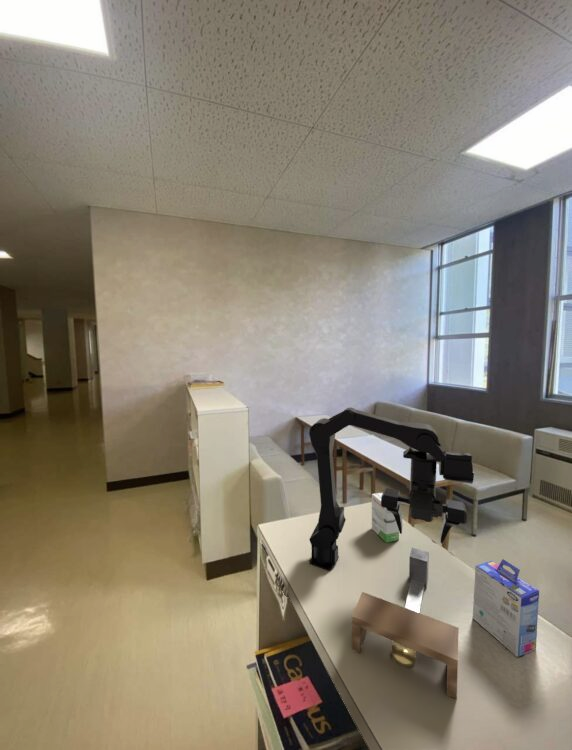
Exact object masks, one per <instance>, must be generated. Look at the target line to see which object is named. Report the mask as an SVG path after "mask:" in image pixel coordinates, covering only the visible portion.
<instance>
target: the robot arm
mask: <svg viewBox="0 0 572 750" xmlns="http://www.w3.org/2000/svg"><path fill="white" fill-rule="evenodd" d="M348 426H353V427H355V428H359V429H362V430H366V431H368V432H373V433H377V434H379V435H383V436H387V437H390V438H393V439H395V440H398V441H399V442H401V443H403V444H404V445H406V446H408V448H407V449H405V450H404V451H403V452H402V453H403V454H402V456H403V459H409V460H410V475H409V476H410V479H409V481H410V482H409V492H408V496H404V495H400V494H401V493H400V490H398V489H395V488H394V489H392V488H389V487H385V489H384V490H383V491H382V493H383V494H382V497H381V506H382V507H385V508H386V509H387V510H388V511H390V512H392V514H393V515H394V517H395V520H396V523H397V526H398V529H399V535H400V534H401V535H402V534H403V517H402V505H404V506H409V517H410V518H411V519H413V520H421V521H425V522H427V523H431V522H433V518H437V519H438V518H439V517H440V518H442V517H443V520H442V524H441V525H442V526H441V530H440V531H441V532H440V544H443V543H444V542H445V539H446V537H447V536H448V533H449V531H450V530H451V529H452V528H453V527H454V526H460V524H463V525H465V524H467V519H468V517H467V516H468V512H467V508H466V504H465V503H464V502H463V501H458V500H453V499H448V498H446V503H444V501H443V500H441V499H438V498H437V497H436V491H437V490H436V485H437V463H438V475H439V476H442V479H444V481H449V482H454V483H463V484H468V485H469V484H470V485H472V484H473V483H474V478H475V476H474V475H475V472H474V468H473V456H472V454H471V453H470V452H454V451H453V452H452V451H445V448H444V445H442V444H441V443H440V441H439V437H438V433H437V431H436V429H435V428H434V427H433V426H432V425H430V424H428V423H424V422H412V421H406V422H405V421H398V420H394V419H392V418H391V419H390V418H388V417H384V416H380V415H377V414H374V413H369V412H366V411H363V410H362V411H361V410H359V409H356V408H355V407H346V408H345V409H344V410H343V411H341V412H339V413H336V414H335V415H332V416H331V417H329V418H326V417H325V418H320V419H319V420H317V421H316V422H315V423H313V424H312V425H311V427H310V428H309V431H308V434H309V439H310V443H311V446H312V449H313V451H314V452H315V455H316V460H317V462H316V463H317V475H318V484H319V486H318V487H319V498H320V510H319V515H318V522H317V524H316V526H315V527H314V530H313V532H312V533H311V535H310V537H309V542H310V545H311V546H310V547H311V557H310V559H309V560H308V563H309V564H310V565H314V566H315V567H318V568H320V569H324V570H327V571H328V572H330V571H332V570H333V568H334V566H335V565H336V564H337V563H338V561H339V546H338V545H337V540H338V538H339V537H340V534H341V533H342V532H343V529H344V525H345V523H346V520H347V519H346V517H345V507H344V506H339V503H338V501H337V500H338V499H337V492H336V491H337V490H336V477H335V467H334V456H333V451H334V445H335V440H336V433H339V432H340V431H342V430H344V429H345V428H347V427H348Z"/></svg>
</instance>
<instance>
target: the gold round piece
mask: <svg viewBox="0 0 572 750" xmlns="http://www.w3.org/2000/svg"><path fill="white" fill-rule="evenodd" d="M390 647H391V648H390V649H391V650H390V652H391V658H392V659H393V661H394V662H395V664H397V665H398V666H400V667H402V668H404V669H410V668H413V667H414V666H416V663H417V651H415V650H412V649H410V648H408V647H406V646H403V645H401V644H399V643H396V642H394V641H392V643H391V646H390Z"/></svg>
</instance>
